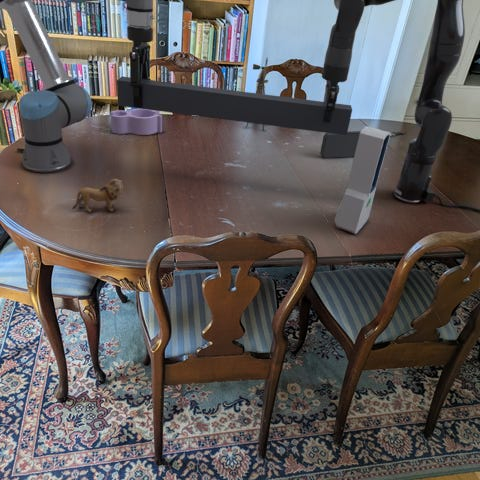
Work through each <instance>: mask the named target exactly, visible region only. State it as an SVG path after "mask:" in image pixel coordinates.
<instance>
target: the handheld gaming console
mask: <svg viewBox="0 0 480 480" xmlns="http://www.w3.org/2000/svg"><path fill="white" fill-rule="evenodd" d="M361 131H362V130H361ZM361 131H360V130H356V131H355V130H354V131H353V130H352V131H348V132H347V135H340V134H332V133H325V132H324V134H323V137H322V142H321V146H320V152H319V154H320V156H321V157H322V158H325V159H331V158H332V159H333V158H354V156H355V152H356V148H357V143H358V139H359V135H360V132H361Z"/></svg>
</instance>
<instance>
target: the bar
mask: <svg viewBox="0 0 480 480" xmlns="http://www.w3.org/2000/svg"><path fill="white" fill-rule="evenodd" d="M130 83H131V78H130V76H121V77H119V78H118V79H117V80H116V92H117V93H116V94H117V106H118V107H125V108H132V109H138V108H140V109H147V110H155V111H159V112H163V113H172V114H180V115H187V116H194V117H203V118H209V119H218V120H227V121H233V122H242V123H247V122H248V124H256V125H262V126H263V125H264V126H270V127H271V126H273V127H279V128H286V129H294V130H295V129H296V130H302V131H309V132H318V133H324V134H325V133H332V134H340V135H347V132H349V127H350V122H351V117H352V113H353V107H352V105H351V104H343V103H337V102H336V103H335V107H334V108H335V109H334V111H332V116H331V121H330V123H325V122H323V118H324V113H325V106H326V102H324V101H320V100H313V99H305V98H296V97H289V96H281V95H273V94H266V93H265V94H262V93H258V94H257V93H256V92H248V91H241V90H233V89H232V90H231V89H225V88H217V87H209V86H200V85H193V84H185V83H177V82H171V81H170V82H169V81H160V80H155V79H154V80H153V79H151V80H146V79H142V82H141V86H142V94H143V107H142V108H141V107H134V102H133V86H130ZM328 106H332V104H331V103H329V104H328Z"/></svg>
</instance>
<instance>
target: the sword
mask: <svg viewBox="0 0 480 480" xmlns="http://www.w3.org/2000/svg"><path fill="white" fill-rule="evenodd" d="M401 132H402V131H396V132H394V131H392V132H390V133H391V135H390V137H393V136H397V135H401V134H402V133H401ZM406 133H407V131H406V132H405V133H404V134H406Z"/></svg>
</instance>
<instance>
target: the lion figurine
mask: <svg viewBox="0 0 480 480" xmlns="http://www.w3.org/2000/svg"><path fill="white" fill-rule="evenodd" d="M109 181H110V182H108V183H107V184H105V185H104V186H103V187H102V188H92V187H88V186H87V187H83V188H81V189H80V190H79V191H78V193H77V195H76V196H77V197H76V201H75V205H74V206H73V207H72V208H71V209H72V210H75V209H77V207H79V208H83V207H84V208H85V210H86V212H89V213H91V212H92V208H89V203H90V199H91V200H94V201H95V202H104V201H105V206H106V207H107V210H108V211H109V212H113V211H114V208H113V207H112V202H113V201H116V200H118V199H119V198H120V197H119V196H121V195H122V194H123V191H124V186H123V181H122V180H120V179H118V178H113V179H110V180H109ZM82 202H84V204H83V203H82Z"/></svg>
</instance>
